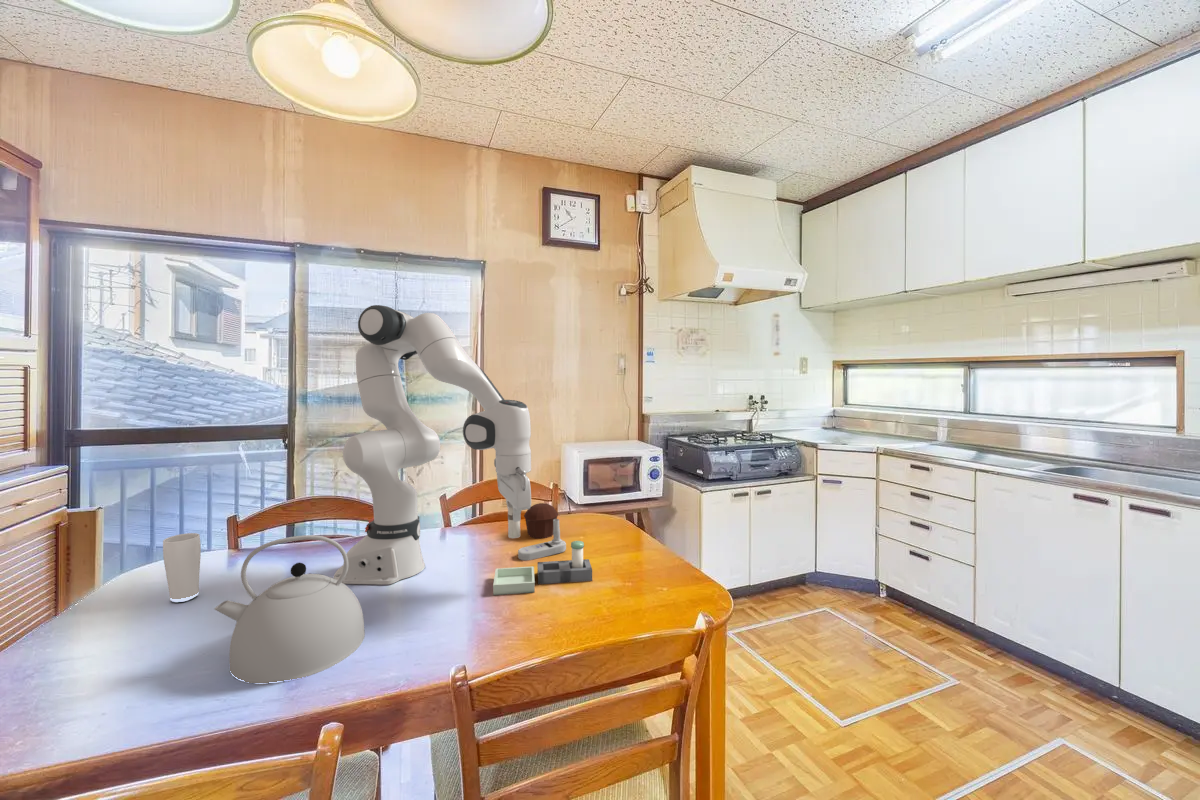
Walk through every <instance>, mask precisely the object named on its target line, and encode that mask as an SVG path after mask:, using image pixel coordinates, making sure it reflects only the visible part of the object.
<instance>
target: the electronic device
mask: <svg viewBox="0 0 1200 800" xmlns="http://www.w3.org/2000/svg"><path fill="white" fill-rule="evenodd" d="M553 525H554V530H553V535H552V536H553V539H551V540H550V541H545V542H541V543H536V544H532V545H527V546H524V547H520V548H519V549H518V551H517V557H518V559H519V560H521V561H533V560H537V559H542V558H545V557H549V556H553V555H558V554H562V553H564V552H565V551H566V550H567V543H566V541H565V540H563V539H561V529H560V519H559V518H557V519H554V520H553Z"/></svg>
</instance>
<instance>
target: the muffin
mask: <svg viewBox="0 0 1200 800" xmlns="http://www.w3.org/2000/svg"><path fill="white" fill-rule="evenodd" d="M558 516H559V513H558V511H557V510H556V508H555V507H554V506H553V505H551V504H550V503H546V502H545V503H542V502H540V503H535V504H533V505H531V507H530V509H526V511H525V513H524V515H523V517H524V520H525V525H526V531H527V536H529V538H533V539H547V538H551V537H552V536H553V530H554V525H553V520H554V519H558Z"/></svg>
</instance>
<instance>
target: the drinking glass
mask: <svg viewBox="0 0 1200 800" xmlns="http://www.w3.org/2000/svg"><path fill="white" fill-rule="evenodd" d="M200 536H201V535H200V534H199V533H196V532H191V533H190V532H189V533H180V534H175V535H172V536H169V537H167V538H164V539H163V540H162V557H163V564H164V569H165V576H166V580H167V586H168V592H169V599H170V598H172V599H181V598H186V597H190V596H193V595H195V594H197V593H198V592H199V593H200V571H201V556H202V554H201V553H202V551H201V550H202V548H201V537H200Z"/></svg>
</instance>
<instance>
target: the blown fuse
mask: <svg viewBox="0 0 1200 800" xmlns="http://www.w3.org/2000/svg"><path fill="white" fill-rule="evenodd" d="M506 506H508V508H507V528H508V529H507V531H508V532H507V534H508V535H507V536H508V537H507V538H509V539H518V538H520V537H521V520H520V521H518V522H514V521H513V520H512V514H513V507H512V505H511V504H510V503H509V502H508V501H507V503H506Z"/></svg>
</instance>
